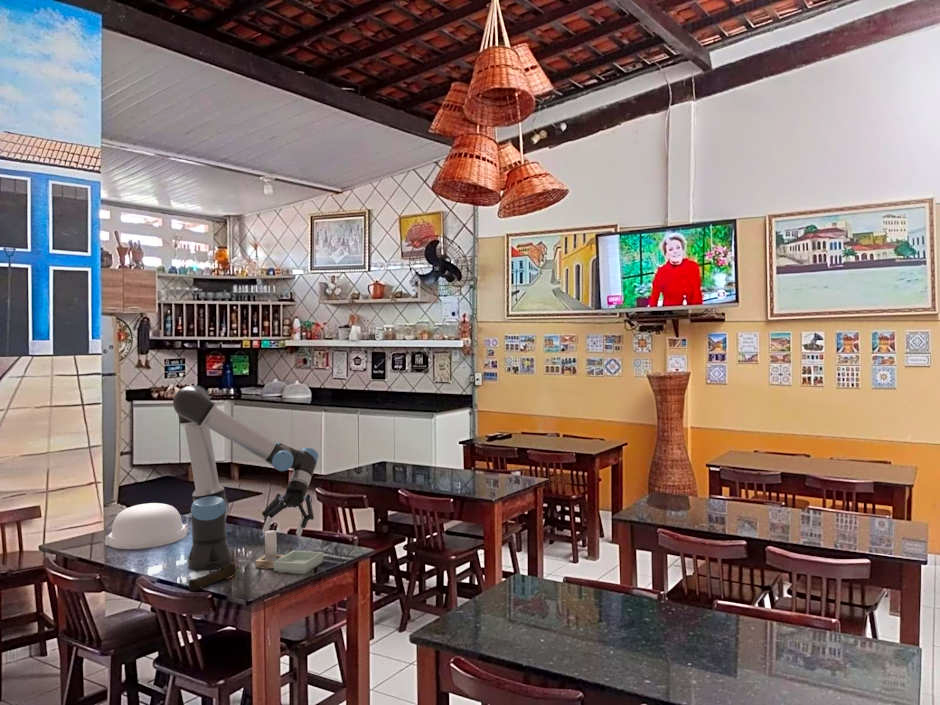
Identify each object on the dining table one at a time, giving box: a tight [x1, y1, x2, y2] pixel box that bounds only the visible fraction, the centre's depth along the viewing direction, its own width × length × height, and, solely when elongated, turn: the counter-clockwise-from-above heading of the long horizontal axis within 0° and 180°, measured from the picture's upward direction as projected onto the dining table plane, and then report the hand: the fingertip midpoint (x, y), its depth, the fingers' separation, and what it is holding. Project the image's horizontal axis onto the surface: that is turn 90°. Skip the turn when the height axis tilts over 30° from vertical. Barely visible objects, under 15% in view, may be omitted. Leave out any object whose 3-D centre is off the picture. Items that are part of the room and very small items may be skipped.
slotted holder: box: [254, 554, 286, 569], centre depth 268 cm, size 8×8×2 cm
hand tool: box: [188, 562, 237, 592], centre depth 250 cm, size 19×4×5 cm, turn 150°
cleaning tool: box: [264, 529, 278, 561], centre depth 268 cm, size 4×4×12 cm
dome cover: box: [104, 502, 189, 550], centre depth 308 cm, size 32×30×14 cm
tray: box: [273, 550, 324, 575], centre depth 265 cm, size 12×14×4 cm
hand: (280, 534), depth 272 cm, fingers open, 13 cm apart
